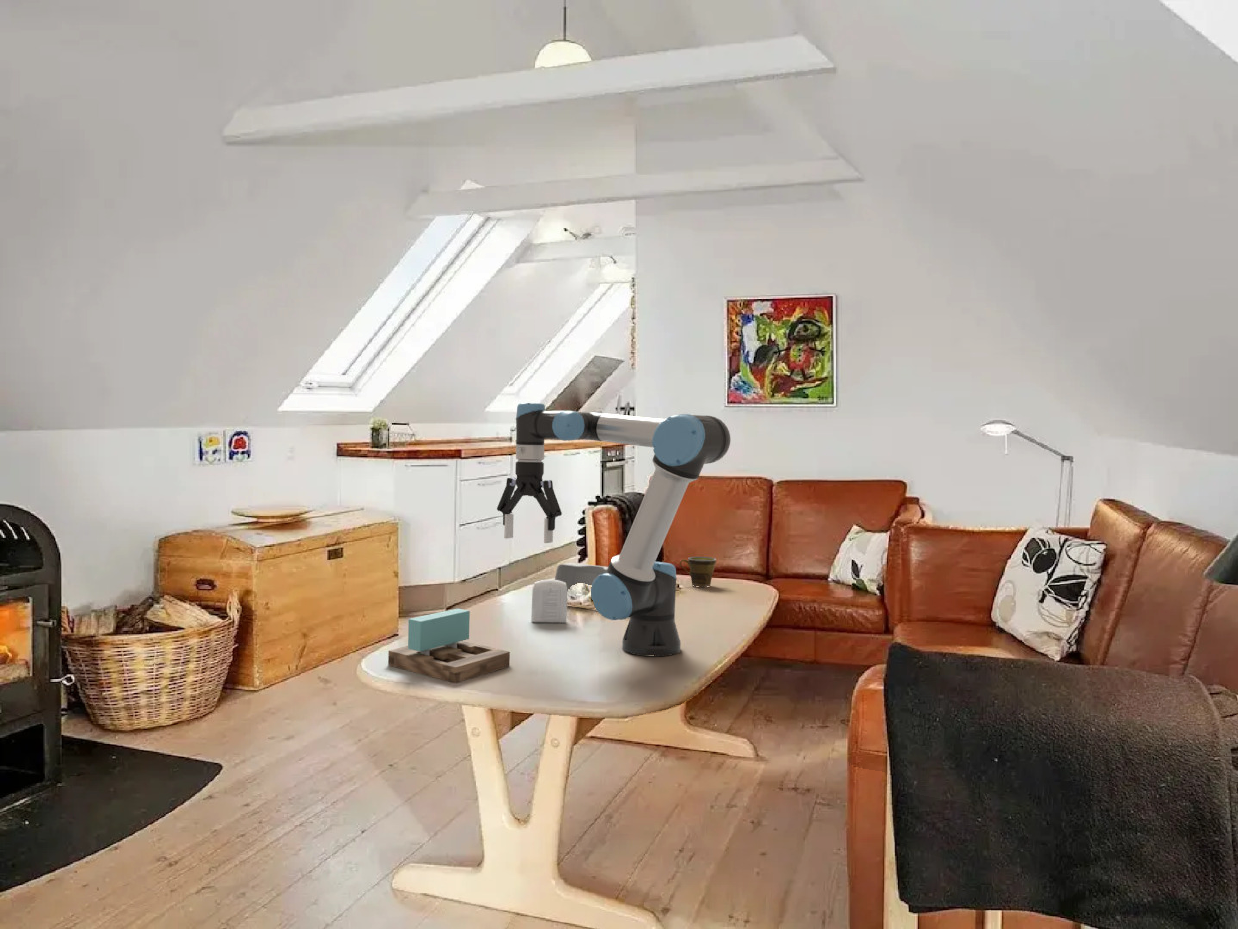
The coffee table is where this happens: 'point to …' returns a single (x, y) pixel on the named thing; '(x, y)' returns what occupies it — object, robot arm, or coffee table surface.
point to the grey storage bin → (578, 573)
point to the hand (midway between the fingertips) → (528, 540)
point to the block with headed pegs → (438, 630)
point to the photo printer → (549, 601)
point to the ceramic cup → (700, 570)
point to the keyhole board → (451, 661)
